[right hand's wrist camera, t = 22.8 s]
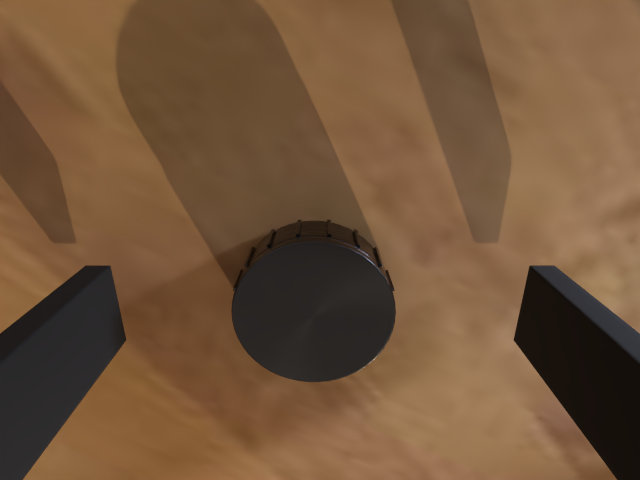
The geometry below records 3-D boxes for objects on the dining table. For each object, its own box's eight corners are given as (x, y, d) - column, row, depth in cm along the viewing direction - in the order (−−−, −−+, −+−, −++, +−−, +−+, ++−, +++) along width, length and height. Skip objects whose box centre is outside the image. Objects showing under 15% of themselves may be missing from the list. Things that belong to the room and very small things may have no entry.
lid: (417, 257, 13) (431, 283, 11) (345, 368, 15) (348, 405, 13) (278, 191, 12) (271, 209, 11) (218, 316, 14) (205, 348, 12)
